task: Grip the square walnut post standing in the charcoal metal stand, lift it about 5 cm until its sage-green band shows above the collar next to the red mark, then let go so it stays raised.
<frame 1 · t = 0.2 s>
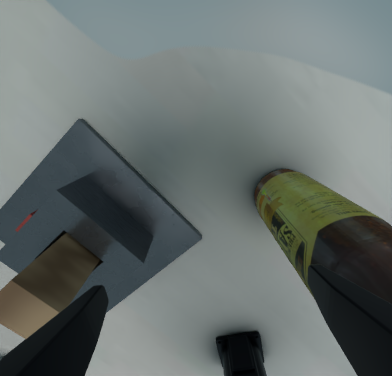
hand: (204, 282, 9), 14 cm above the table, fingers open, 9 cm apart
stand: (96, 230, 24), on the table
post: (66, 263, 19), point 6 cm above the table, slide at 0.0 cm
sauce bottle: (279, 194, 23), on the table
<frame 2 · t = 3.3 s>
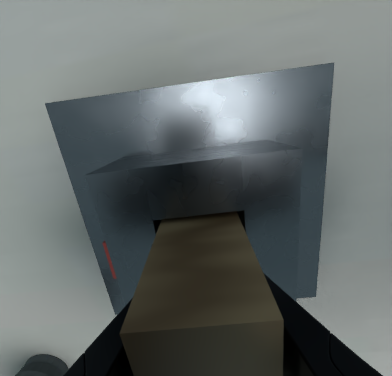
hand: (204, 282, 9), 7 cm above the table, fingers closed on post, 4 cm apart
stand: (201, 210, 16), on the table
beverage cup: (49, 366, 22), on the table
post: (203, 260, 10), point 6 cm above the table, slide at 0.0 cm, touching gripper
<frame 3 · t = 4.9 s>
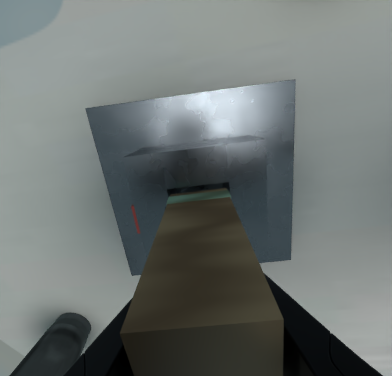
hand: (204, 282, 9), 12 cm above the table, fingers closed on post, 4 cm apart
stand: (200, 190, 21), on the table
beverage cup: (74, 324, 27), on the table
post: (203, 260, 10), point 11 cm above the table, slide at 4.9 cm, touching gripper
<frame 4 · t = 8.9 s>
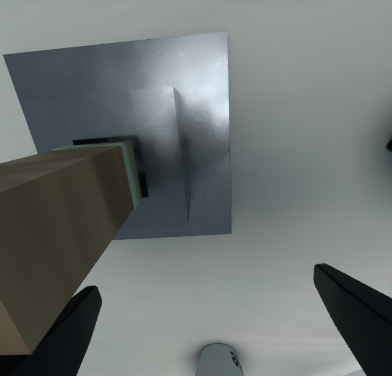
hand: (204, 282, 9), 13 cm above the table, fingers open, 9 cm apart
stand: (135, 155, 20), on the table
cup: (217, 353, 30), on the table
post: (60, 203, 9), point 11 cm above the table, slide at 5.2 cm, touching gripper
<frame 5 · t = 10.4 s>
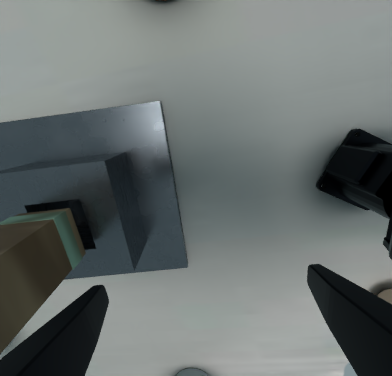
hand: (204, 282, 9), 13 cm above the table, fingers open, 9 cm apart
stand: (94, 202, 22), on the table
egg: (382, 293, 26), on the table
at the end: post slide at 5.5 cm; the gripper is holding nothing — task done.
